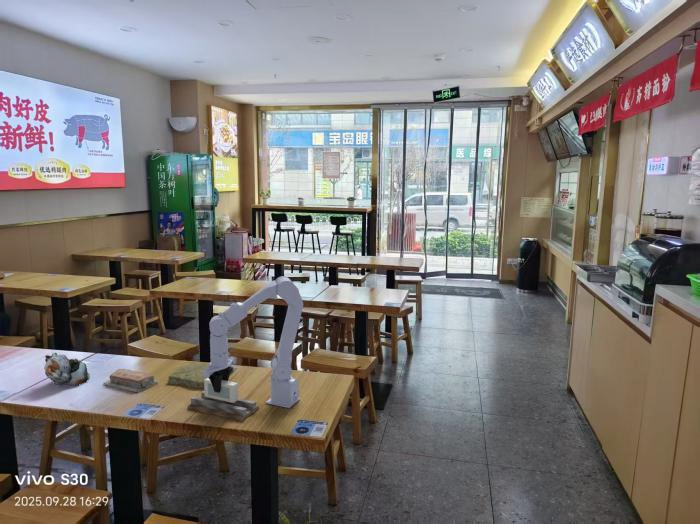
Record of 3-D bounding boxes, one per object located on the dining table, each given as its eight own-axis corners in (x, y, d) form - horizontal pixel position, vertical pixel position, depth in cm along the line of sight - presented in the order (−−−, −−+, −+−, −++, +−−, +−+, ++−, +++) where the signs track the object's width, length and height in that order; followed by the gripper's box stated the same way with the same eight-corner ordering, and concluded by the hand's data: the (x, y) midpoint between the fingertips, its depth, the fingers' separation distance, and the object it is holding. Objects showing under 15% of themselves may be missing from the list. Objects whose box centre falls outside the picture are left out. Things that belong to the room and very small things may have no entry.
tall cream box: (238, 399, 160) (238, 383, 159) (233, 403, 157) (233, 385, 157) (209, 393, 164) (209, 377, 164) (204, 396, 162) (204, 379, 161)
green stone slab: (190, 368, 198) (189, 360, 198) (234, 372, 194) (234, 364, 194) (164, 386, 180) (163, 377, 180) (212, 391, 176) (212, 382, 176)
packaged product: (158, 372, 181) (137, 381, 172) (159, 384, 182) (138, 394, 173) (123, 365, 188) (102, 373, 179) (124, 376, 189) (103, 385, 180)
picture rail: (258, 408, 162) (258, 400, 161) (241, 421, 152) (241, 412, 152) (207, 396, 170) (206, 389, 170) (187, 408, 161) (187, 400, 160)
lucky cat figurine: (91, 384, 180) (72, 358, 172) (58, 400, 176) (37, 375, 168) (88, 361, 191) (70, 337, 184) (57, 376, 188) (37, 352, 180)
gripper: (223, 343, 167) (224, 380, 169) (194, 356, 154) (196, 396, 156) (239, 346, 164) (240, 383, 166) (212, 359, 151) (213, 400, 153)
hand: (220, 390), depth 161 cm, fingers closed on tall cream box, 3 cm apart
